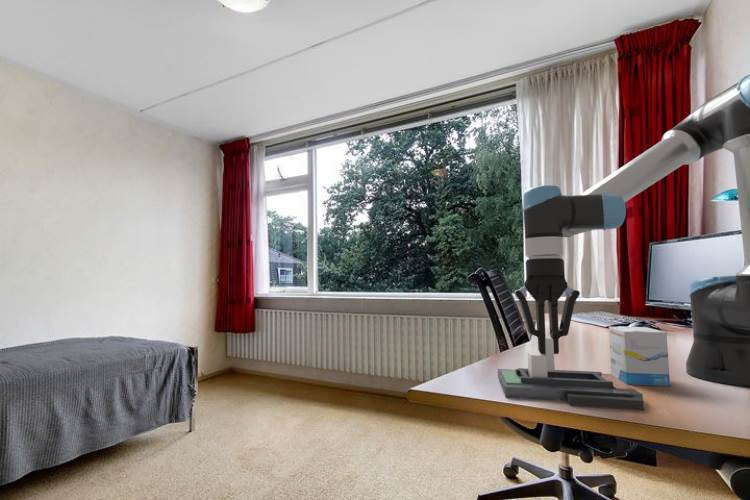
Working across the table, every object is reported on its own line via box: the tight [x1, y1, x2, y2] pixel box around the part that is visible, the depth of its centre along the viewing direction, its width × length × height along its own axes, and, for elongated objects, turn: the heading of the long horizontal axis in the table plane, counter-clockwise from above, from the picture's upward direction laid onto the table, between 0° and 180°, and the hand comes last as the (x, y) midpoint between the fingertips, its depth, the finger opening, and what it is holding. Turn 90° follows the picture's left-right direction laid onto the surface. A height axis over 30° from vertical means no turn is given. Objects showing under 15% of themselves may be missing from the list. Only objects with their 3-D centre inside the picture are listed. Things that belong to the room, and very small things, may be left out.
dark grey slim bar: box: [517, 367, 604, 374], centre depth 85 cm, size 18×2×2 cm, turn 77°
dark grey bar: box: [567, 394, 645, 411], centre depth 66 cm, size 12×2×2 cm, turn 77°
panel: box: [497, 368, 644, 402], centre depth 76 cm, size 24×14×3 cm, turn 77°
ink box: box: [608, 325, 671, 387], centre depth 83 cm, size 9×8×12 cm
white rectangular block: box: [527, 351, 548, 378], centre depth 77 cm, size 3×4×5 cm
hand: (549, 369), depth 77 cm, fingers closed
